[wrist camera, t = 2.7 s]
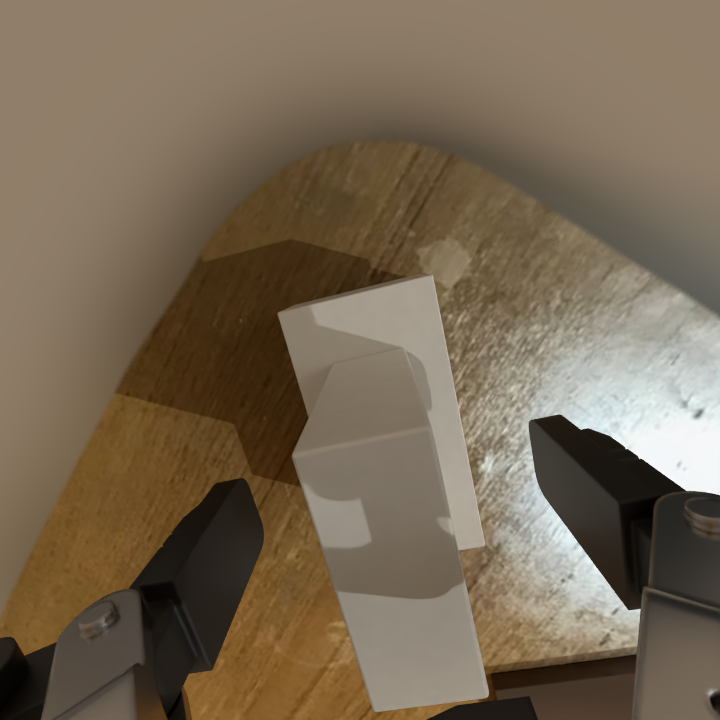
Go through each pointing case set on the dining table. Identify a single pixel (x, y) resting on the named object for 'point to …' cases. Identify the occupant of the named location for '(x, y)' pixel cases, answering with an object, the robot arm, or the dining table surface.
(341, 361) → the white stepped wedge block
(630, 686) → the board
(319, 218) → the dining table surface
